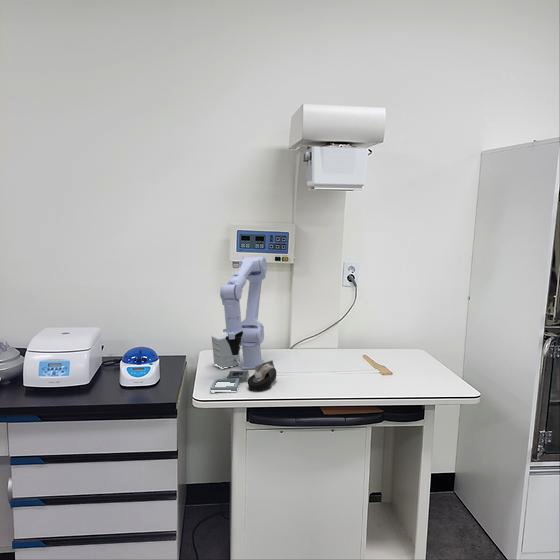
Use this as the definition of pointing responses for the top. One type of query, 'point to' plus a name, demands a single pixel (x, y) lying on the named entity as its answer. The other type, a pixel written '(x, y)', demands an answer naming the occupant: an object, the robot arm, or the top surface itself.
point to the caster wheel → (262, 377)
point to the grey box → (222, 351)
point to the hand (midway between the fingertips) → (236, 353)
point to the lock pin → (236, 356)
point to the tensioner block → (239, 375)
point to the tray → (232, 388)
